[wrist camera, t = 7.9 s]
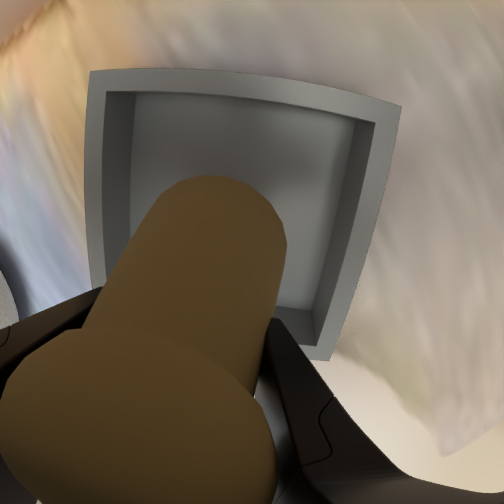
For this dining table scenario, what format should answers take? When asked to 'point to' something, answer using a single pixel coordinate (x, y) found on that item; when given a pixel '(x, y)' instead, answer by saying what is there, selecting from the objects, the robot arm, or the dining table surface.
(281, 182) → the tray
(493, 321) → the dining table surface
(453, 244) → the dining table surface
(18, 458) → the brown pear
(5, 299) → the cereal bowl
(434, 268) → the dining table surface
